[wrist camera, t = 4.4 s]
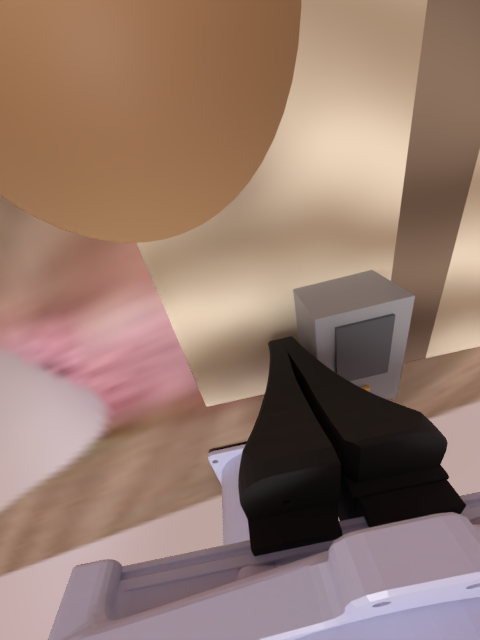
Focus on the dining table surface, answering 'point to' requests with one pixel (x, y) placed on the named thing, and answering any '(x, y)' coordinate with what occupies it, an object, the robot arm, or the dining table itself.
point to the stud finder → (357, 328)
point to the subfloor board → (344, 194)
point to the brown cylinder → (139, 108)
